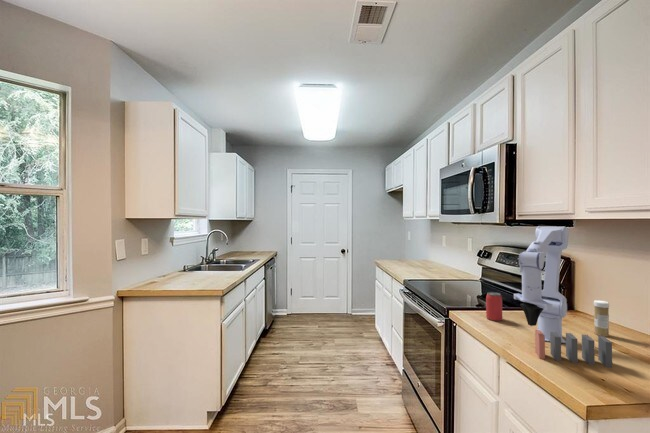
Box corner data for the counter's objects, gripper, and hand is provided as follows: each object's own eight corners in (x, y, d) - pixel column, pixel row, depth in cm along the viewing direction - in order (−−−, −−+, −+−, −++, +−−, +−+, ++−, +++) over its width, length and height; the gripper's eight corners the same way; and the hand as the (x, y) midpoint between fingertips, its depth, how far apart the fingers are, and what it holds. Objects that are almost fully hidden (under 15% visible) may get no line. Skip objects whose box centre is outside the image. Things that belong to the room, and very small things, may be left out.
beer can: (499, 322, 140) (498, 296, 140) (484, 319, 145) (483, 293, 144) (504, 319, 144) (504, 293, 144) (489, 315, 149) (489, 290, 149)
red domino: (540, 352, 110) (540, 330, 109) (545, 359, 105) (544, 335, 105) (535, 352, 110) (535, 329, 110) (539, 358, 105) (539, 335, 105)
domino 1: (555, 360, 104) (555, 336, 104) (550, 354, 109) (550, 331, 108) (561, 361, 103) (560, 337, 103) (555, 354, 108) (555, 331, 108)
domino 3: (588, 364, 101) (588, 340, 101) (582, 357, 105) (581, 334, 105) (594, 365, 100) (594, 340, 100) (587, 358, 105) (587, 334, 105)
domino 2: (571, 362, 102) (571, 338, 102) (566, 355, 107) (565, 332, 107) (577, 363, 102) (577, 339, 102) (571, 356, 106) (571, 333, 106)
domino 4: (605, 366, 99) (605, 341, 99) (598, 359, 104) (598, 336, 104) (612, 367, 99) (611, 342, 98) (604, 360, 103) (604, 336, 103)
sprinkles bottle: (594, 331, 127) (594, 299, 127) (609, 334, 124) (609, 301, 124) (593, 335, 124) (593, 301, 124) (609, 338, 121) (609, 303, 120)
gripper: (506, 282, 115) (506, 318, 115) (538, 292, 100) (539, 333, 100) (523, 281, 116) (523, 317, 116) (557, 290, 101) (558, 332, 101)
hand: (532, 325), depth 108 cm, fingers closed
